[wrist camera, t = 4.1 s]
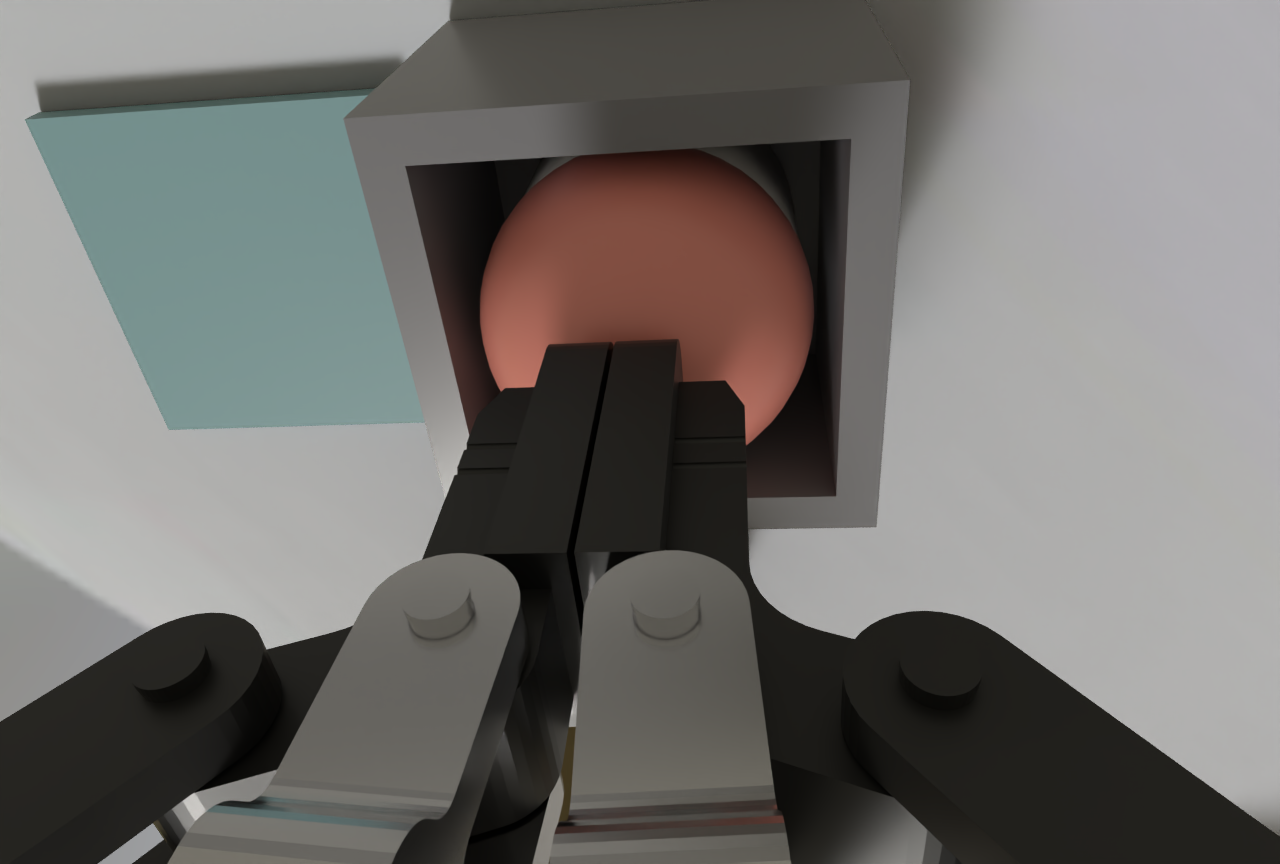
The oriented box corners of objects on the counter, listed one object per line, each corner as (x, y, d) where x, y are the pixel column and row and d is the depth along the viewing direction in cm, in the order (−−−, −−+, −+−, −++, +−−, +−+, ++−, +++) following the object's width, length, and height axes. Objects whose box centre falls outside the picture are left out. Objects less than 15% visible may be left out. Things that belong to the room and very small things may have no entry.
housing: (858, -12, 14) (910, 80, 10) (843, 352, 18) (876, 527, 14) (448, 20, 15) (342, 119, 11) (515, 364, 19) (455, 533, 15)
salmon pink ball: (802, 73, 14) (834, 212, 10) (798, 342, 17) (823, 545, 12) (499, 94, 14) (402, 236, 10) (543, 351, 17) (481, 550, 13)
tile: (398, 87, 16) (391, 94, 15) (473, 410, 19) (469, 421, 19) (38, 112, 16) (25, 119, 16) (177, 418, 20) (168, 429, 20)
